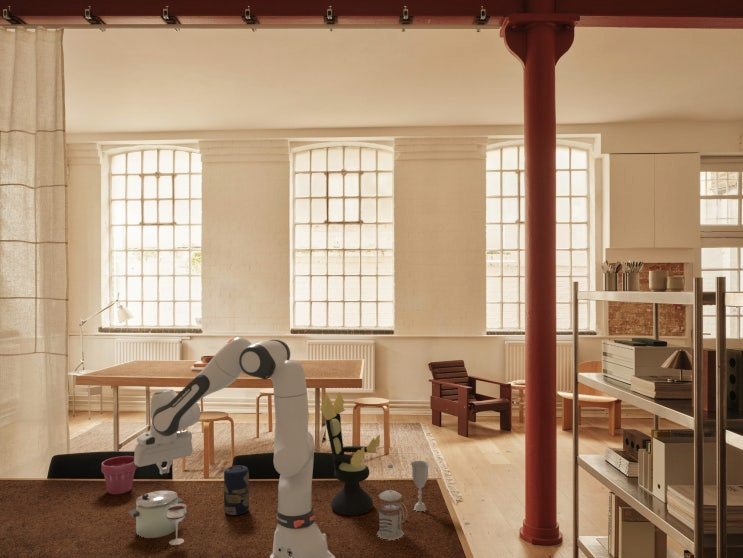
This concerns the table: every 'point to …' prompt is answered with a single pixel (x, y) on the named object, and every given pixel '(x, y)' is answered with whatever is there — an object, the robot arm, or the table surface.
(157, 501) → the lid
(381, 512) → the french press
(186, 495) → the table surface
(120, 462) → the plant pot
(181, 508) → the wineglass
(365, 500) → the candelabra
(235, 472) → the canister
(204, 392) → the robot arm
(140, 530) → the pot
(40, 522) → the table surface
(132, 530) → the table surface
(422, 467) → the chalice
